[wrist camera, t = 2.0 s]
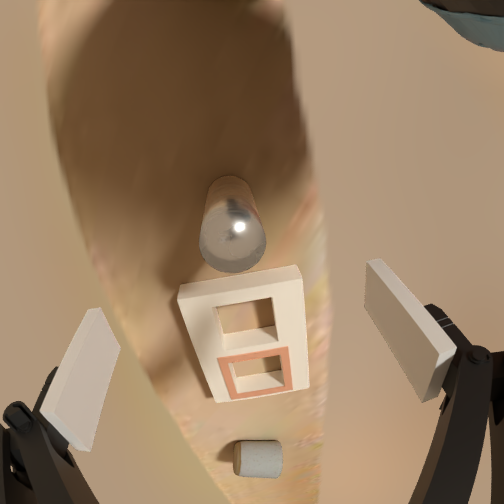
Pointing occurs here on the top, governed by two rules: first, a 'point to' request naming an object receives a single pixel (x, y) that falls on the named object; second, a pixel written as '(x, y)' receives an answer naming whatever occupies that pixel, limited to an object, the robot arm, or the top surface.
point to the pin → (231, 227)
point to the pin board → (249, 332)
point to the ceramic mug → (258, 459)
